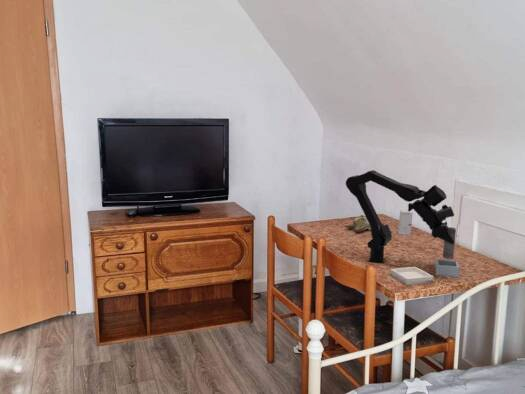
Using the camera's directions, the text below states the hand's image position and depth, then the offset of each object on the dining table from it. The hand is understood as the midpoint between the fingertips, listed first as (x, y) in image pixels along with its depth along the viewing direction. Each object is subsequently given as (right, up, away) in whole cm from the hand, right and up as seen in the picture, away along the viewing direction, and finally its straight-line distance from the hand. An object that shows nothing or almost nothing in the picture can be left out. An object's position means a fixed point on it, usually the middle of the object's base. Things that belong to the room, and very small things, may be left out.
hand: (453, 241), depth 200 cm
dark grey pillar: (-1, -6, +2) cm, 7 cm away
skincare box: (-2, -2, +61) cm, 61 cm away
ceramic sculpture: (-24, 0, +66) cm, 70 cm away
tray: (-18, -14, -5) cm, 23 cm away
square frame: (-2, -13, +3) cm, 13 cm away
